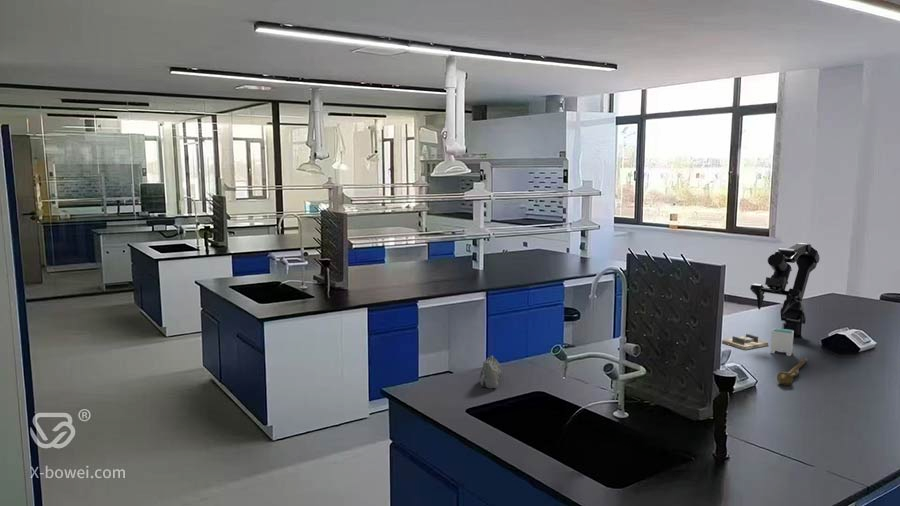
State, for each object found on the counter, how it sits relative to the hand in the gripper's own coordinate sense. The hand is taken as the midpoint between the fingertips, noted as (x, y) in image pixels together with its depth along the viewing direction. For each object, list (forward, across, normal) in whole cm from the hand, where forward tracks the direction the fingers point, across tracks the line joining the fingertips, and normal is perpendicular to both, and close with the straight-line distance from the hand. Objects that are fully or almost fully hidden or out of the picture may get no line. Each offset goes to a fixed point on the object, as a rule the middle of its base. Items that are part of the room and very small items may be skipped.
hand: (770, 311), depth 245 cm
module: (+15, +6, +4) cm, 17 cm away
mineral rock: (+72, -47, -89) cm, 123 cm away
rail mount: (+14, -8, +6) cm, 17 cm away
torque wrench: (+27, +19, -14) cm, 36 cm away
